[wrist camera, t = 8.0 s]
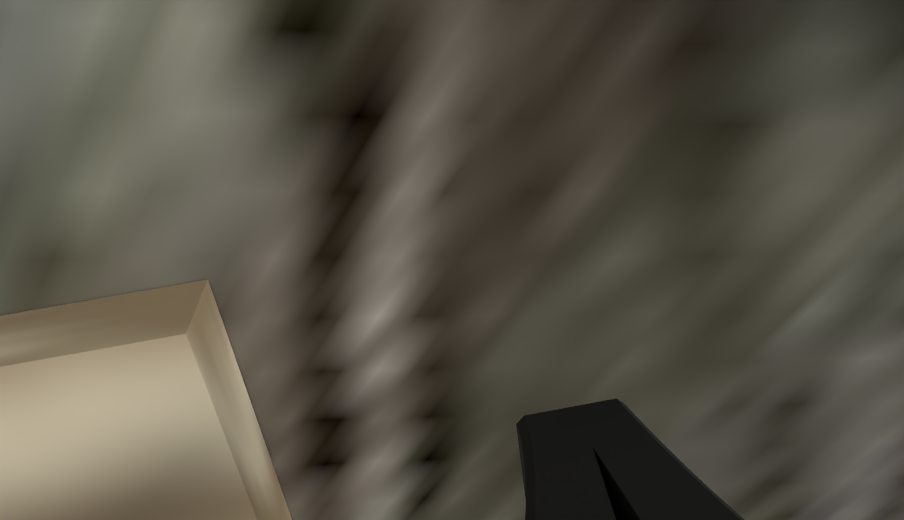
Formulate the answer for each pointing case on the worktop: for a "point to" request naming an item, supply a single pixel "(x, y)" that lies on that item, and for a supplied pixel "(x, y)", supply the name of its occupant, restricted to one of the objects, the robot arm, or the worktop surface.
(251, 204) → the worktop surface
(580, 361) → the worktop surface
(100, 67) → the worktop surface
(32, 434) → the board
